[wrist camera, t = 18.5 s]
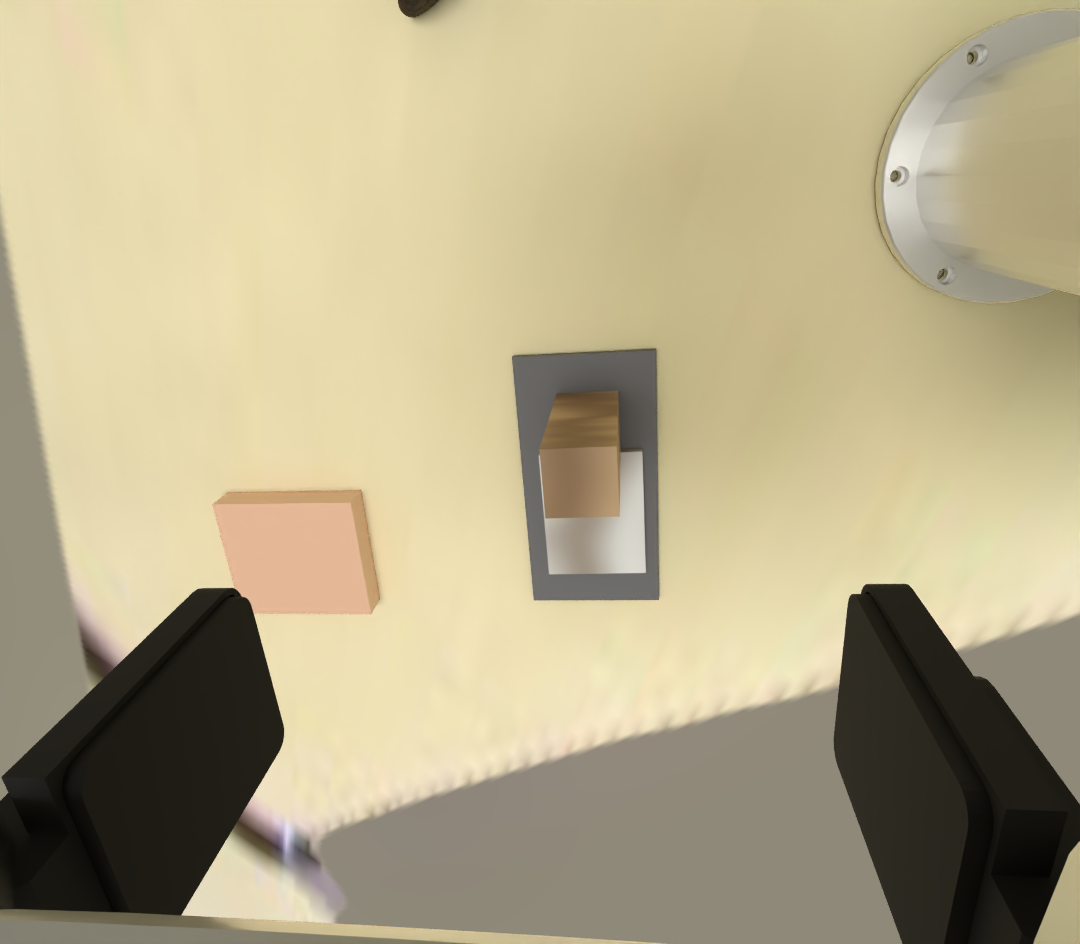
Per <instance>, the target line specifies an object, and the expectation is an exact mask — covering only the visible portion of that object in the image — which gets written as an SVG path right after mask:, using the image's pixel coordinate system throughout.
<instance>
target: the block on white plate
mask: <svg viewBox="0 0 1080 944" xmlns="http://www.w3.org/2000/svg"><path fill="white" fill-rule="evenodd" d="M539 452H540V453H539V465H540V476H541V487H542V499H543V510H544V522H545V533H546V545H547V556H548V567H549V574H608V573H646V561H645V526H644V490H643V455H642V448H626V449H620V424H619V399H618V391H602V392H581V393H560V394H556V397H555V400H554V403H553V407H552V410H551V413H550V416H549V420H548V423H547V426H546V429H545V433H544V436H543V439H542V442H541V445H540V449H539Z"/></svg>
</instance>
